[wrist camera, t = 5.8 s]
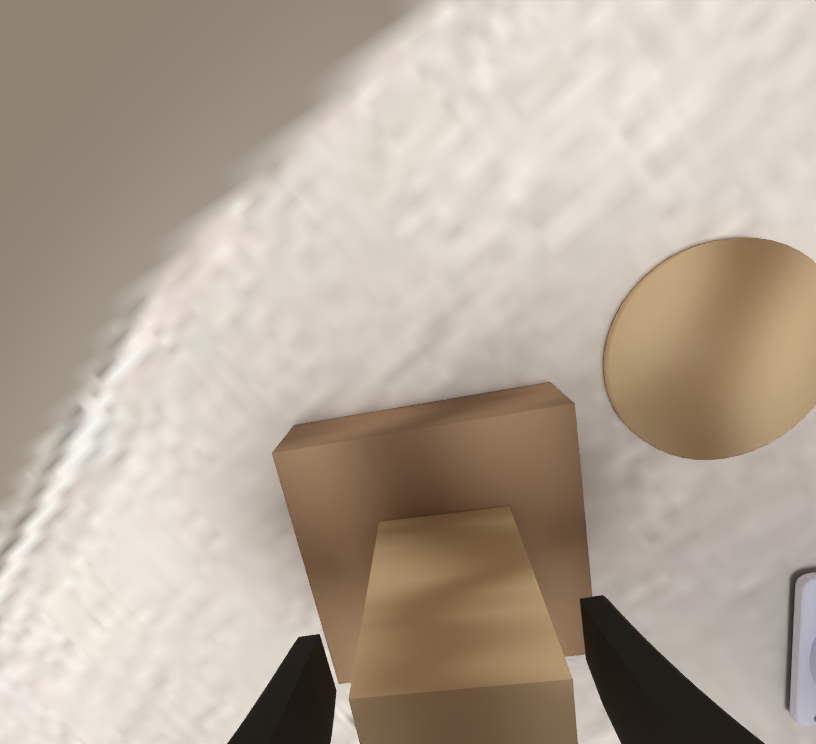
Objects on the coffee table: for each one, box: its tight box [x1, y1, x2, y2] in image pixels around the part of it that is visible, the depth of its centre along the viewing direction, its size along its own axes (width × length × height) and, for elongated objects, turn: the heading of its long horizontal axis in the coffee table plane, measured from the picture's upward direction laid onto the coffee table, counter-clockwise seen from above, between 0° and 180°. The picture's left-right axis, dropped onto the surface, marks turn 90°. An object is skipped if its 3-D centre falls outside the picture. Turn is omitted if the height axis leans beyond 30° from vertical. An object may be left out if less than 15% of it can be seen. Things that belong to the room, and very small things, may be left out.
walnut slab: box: [272, 382, 592, 684], centre depth 16 cm, size 10×10×3 cm
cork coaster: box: [604, 238, 816, 460], centre depth 15 cm, size 8×8×1 cm
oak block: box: [349, 506, 578, 744], centre depth 12 cm, size 4×4×6 cm
